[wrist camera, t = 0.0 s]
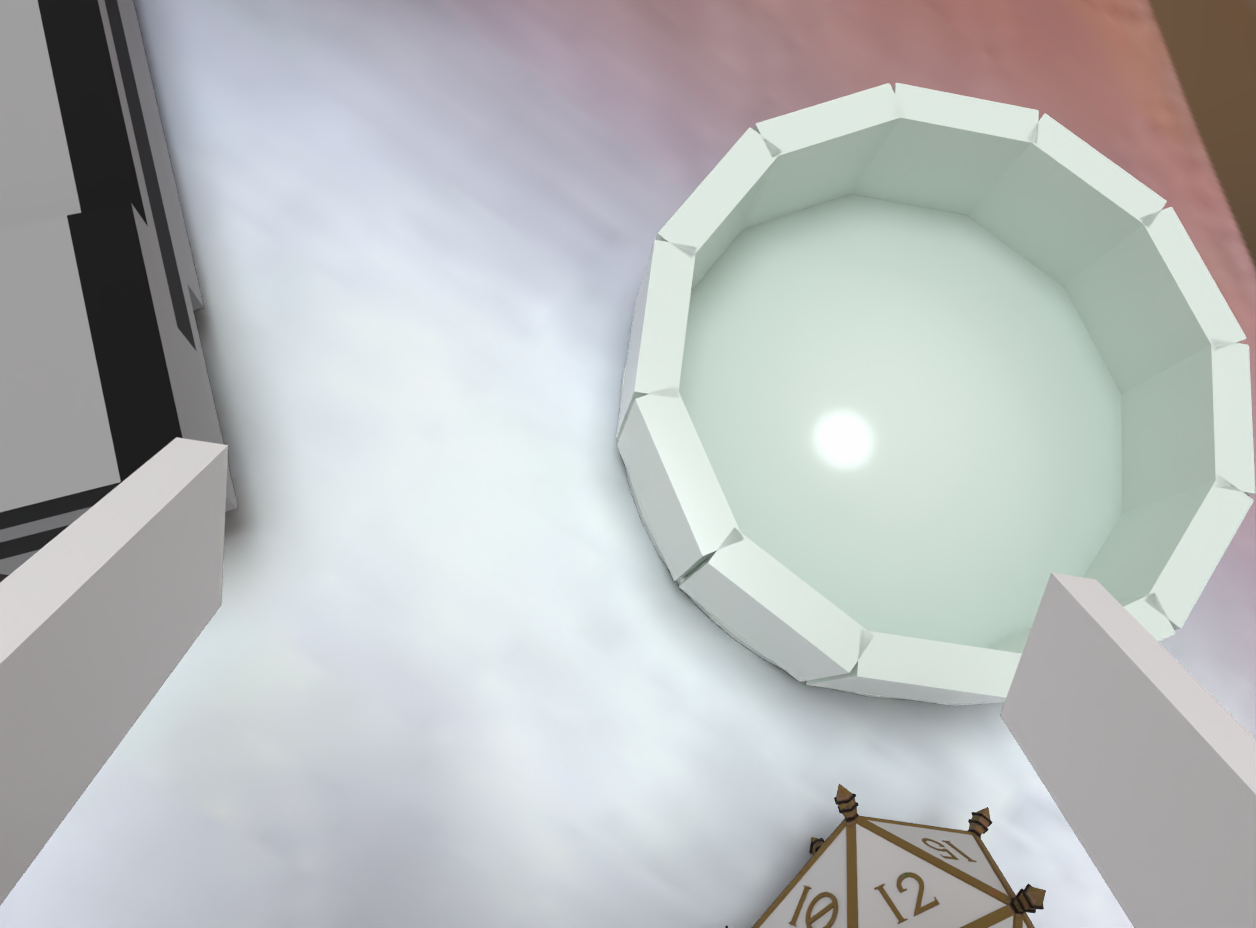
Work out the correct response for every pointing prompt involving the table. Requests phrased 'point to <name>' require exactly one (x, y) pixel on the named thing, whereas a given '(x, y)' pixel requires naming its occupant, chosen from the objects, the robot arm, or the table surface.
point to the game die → (900, 879)
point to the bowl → (929, 393)
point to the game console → (87, 272)
